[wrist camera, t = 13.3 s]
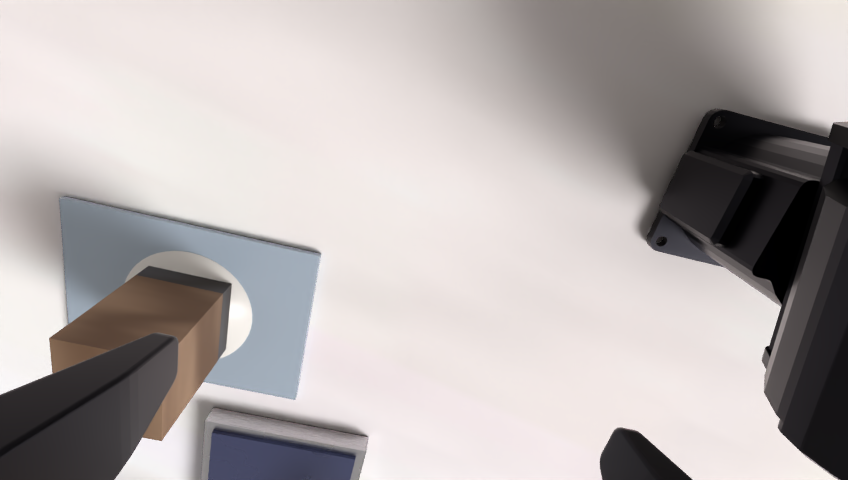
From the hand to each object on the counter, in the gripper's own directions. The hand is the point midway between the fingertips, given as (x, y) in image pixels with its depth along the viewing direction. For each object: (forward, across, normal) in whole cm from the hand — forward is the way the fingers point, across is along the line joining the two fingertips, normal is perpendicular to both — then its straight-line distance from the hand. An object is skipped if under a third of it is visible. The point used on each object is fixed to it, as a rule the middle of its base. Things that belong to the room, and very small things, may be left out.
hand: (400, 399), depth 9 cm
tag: (+12, +10, +8) cm, 18 cm away
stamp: (+12, +10, +8) cm, 18 cm away
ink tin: (+12, +4, +18) cm, 22 cm away
